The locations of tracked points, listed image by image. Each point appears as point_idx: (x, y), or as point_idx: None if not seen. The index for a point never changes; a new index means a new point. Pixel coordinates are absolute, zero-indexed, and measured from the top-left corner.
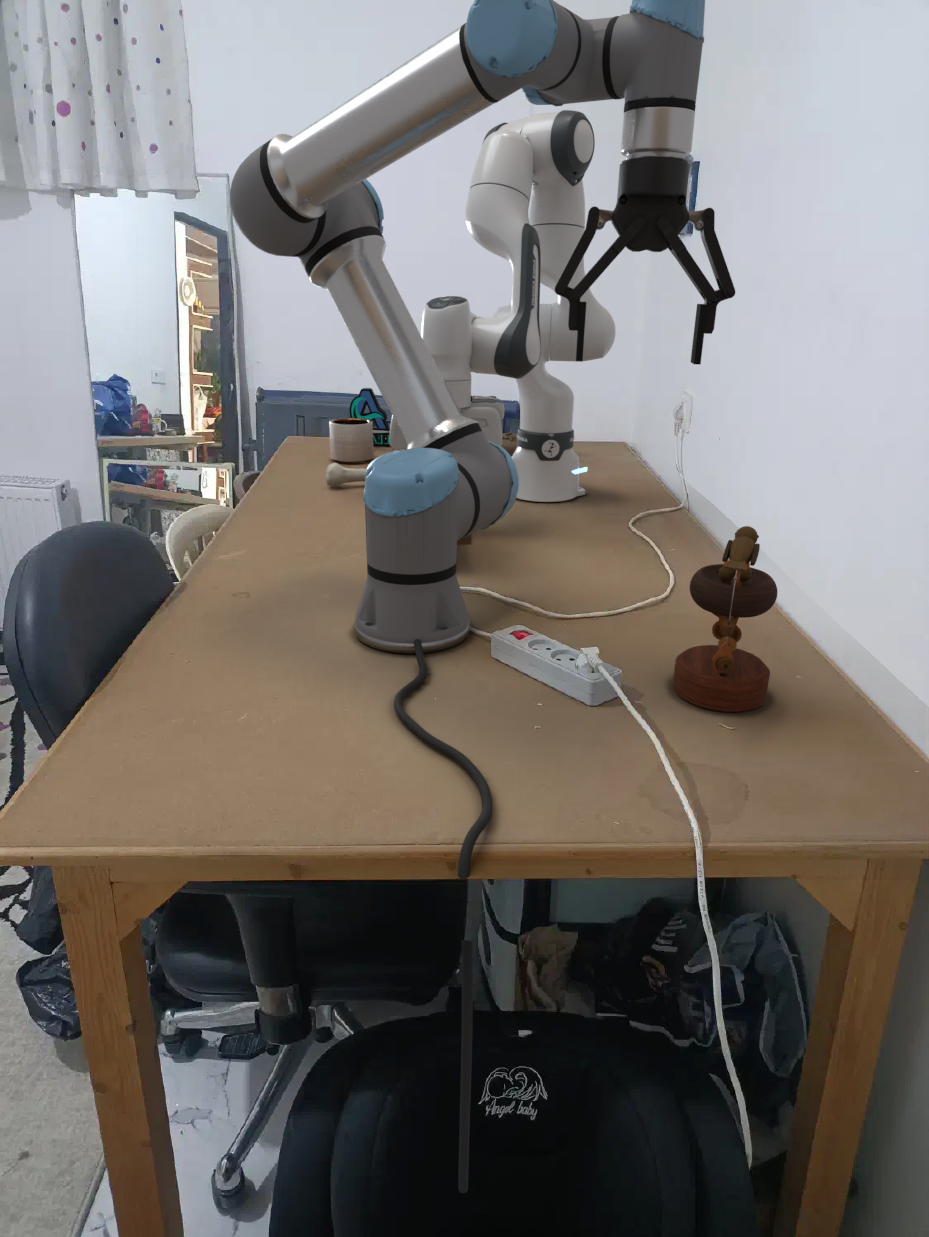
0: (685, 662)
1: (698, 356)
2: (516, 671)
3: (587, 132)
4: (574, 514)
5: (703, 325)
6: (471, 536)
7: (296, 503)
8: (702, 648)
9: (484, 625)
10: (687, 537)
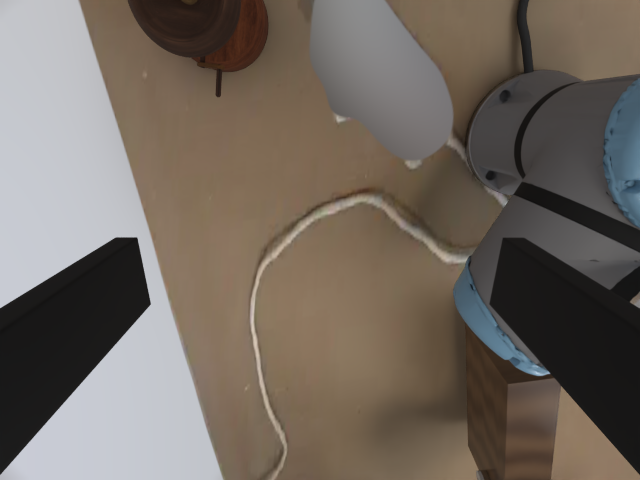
0: (254, 4)
1: (110, 246)
2: (421, 45)
3: None
4: (339, 470)
5: (19, 301)
6: (469, 328)
7: (629, 468)
8: (233, 49)
9: (448, 162)
10: (230, 422)
